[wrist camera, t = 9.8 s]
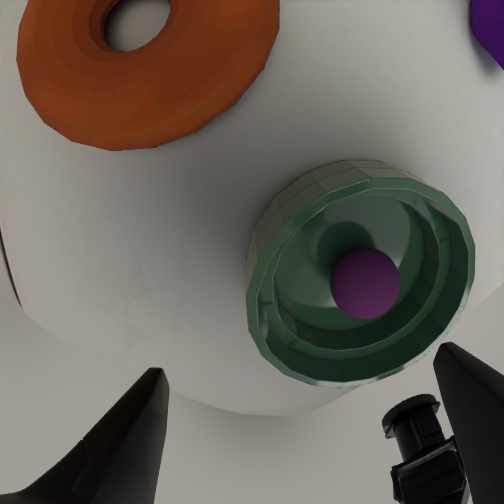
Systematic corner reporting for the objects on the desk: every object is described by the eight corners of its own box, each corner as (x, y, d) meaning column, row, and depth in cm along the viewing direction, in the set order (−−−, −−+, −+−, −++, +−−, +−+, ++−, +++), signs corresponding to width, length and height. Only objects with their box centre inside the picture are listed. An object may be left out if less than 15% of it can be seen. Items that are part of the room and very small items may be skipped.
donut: (104, 187, 18) (66, 214, 14) (22, 22, 12) (-23, 14, 8) (320, 75, 16) (346, 66, 11) (210, -95, 10) (201, -135, 5)
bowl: (416, 329, 24) (439, 369, 20) (252, 346, 24) (253, 395, 20) (450, 163, 18) (495, 184, 13) (240, 160, 18) (237, 180, 13)
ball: (378, 290, 21) (403, 328, 17) (320, 296, 21) (337, 338, 17) (386, 233, 19) (418, 265, 15) (324, 237, 19) (345, 273, 15)
